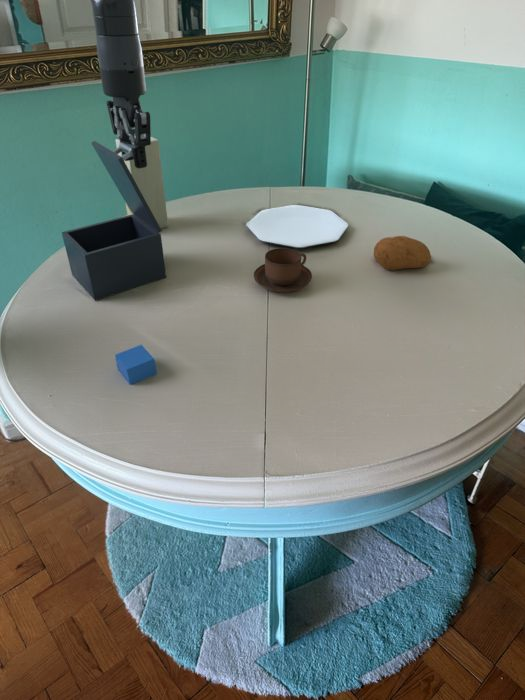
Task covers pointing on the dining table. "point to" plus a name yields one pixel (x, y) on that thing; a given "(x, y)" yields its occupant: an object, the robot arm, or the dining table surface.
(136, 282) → the box
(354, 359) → the dining table surface
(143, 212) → the freezer lid
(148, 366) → the blue cube
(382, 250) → the potato
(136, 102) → the robot arm
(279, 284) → the cup and saucer
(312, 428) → the dining table surface
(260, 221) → the plate
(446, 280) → the dining table surface
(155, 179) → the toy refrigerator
